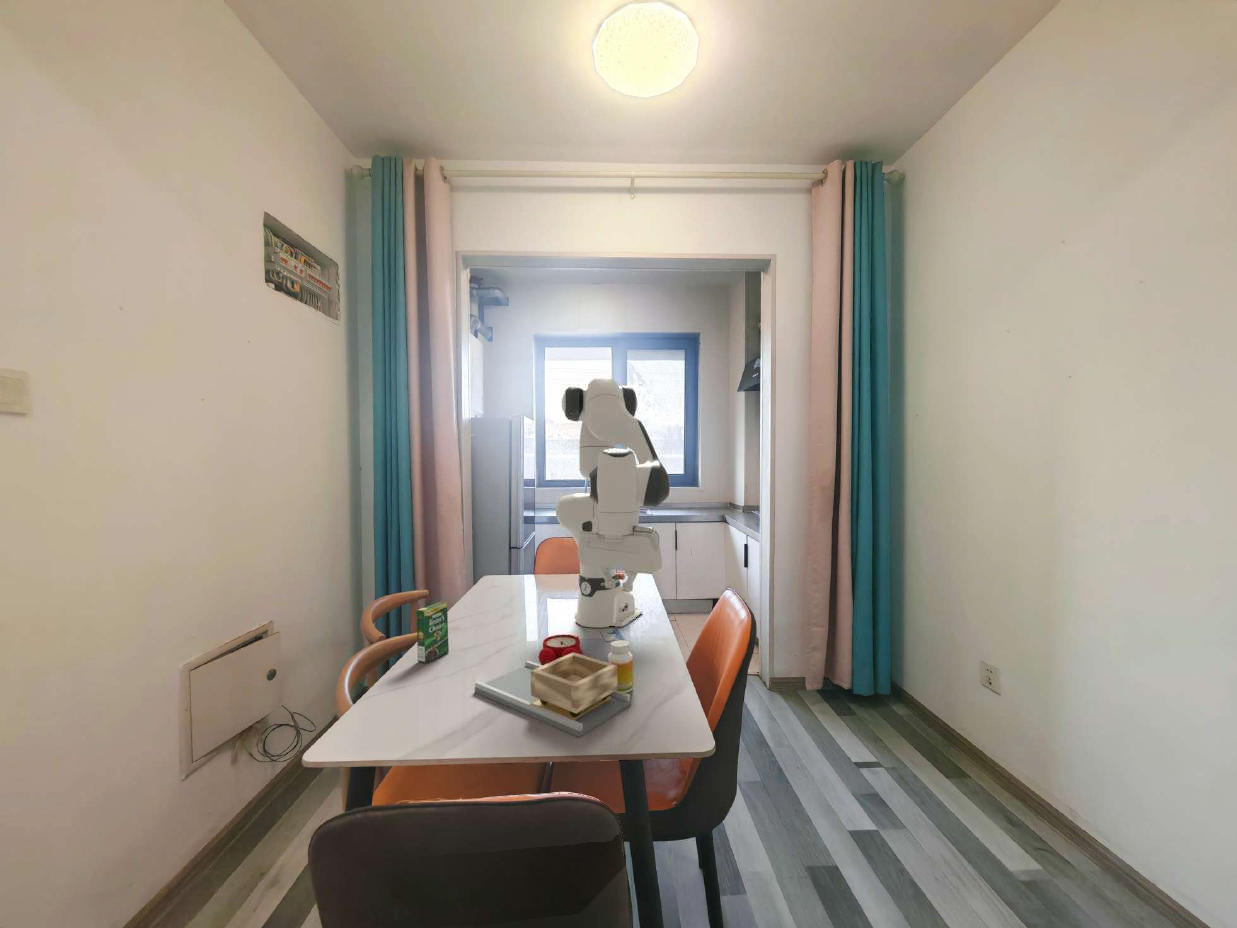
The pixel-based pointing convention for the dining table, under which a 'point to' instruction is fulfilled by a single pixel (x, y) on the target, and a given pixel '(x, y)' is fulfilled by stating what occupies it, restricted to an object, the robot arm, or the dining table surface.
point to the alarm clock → (558, 647)
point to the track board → (517, 695)
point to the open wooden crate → (574, 682)
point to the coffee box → (432, 632)
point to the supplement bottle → (622, 665)
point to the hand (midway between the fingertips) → (618, 589)
